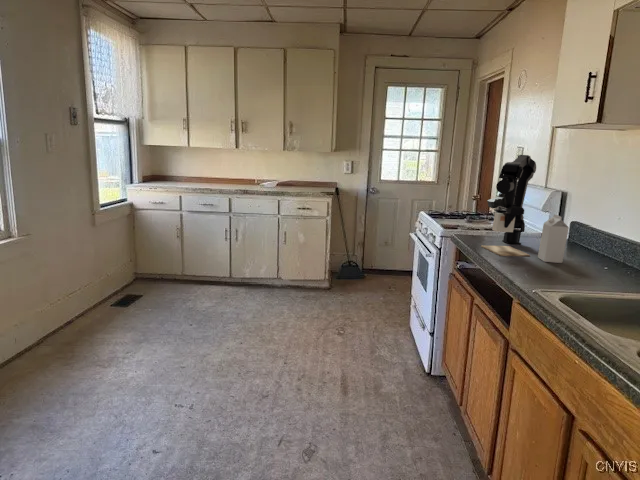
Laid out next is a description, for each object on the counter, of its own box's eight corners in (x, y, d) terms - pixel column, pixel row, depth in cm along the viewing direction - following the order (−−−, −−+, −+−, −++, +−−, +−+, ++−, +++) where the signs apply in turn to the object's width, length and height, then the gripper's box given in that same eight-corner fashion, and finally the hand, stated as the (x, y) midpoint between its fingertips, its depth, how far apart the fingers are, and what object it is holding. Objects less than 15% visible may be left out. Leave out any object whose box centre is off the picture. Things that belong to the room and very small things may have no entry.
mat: (509, 247, 201) (509, 246, 201) (530, 256, 186) (530, 255, 186) (481, 246, 199) (481, 245, 199) (499, 255, 184) (499, 254, 184)
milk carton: (554, 259, 184) (562, 214, 180) (562, 263, 177) (570, 217, 173) (537, 257, 185) (545, 213, 180) (544, 262, 178) (552, 216, 173)
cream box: (508, 230, 197) (511, 213, 195) (513, 232, 194) (515, 214, 192) (492, 230, 196) (494, 212, 194) (496, 231, 192) (499, 213, 191)
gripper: (481, 188, 199) (476, 222, 202) (503, 194, 181) (497, 230, 184) (503, 189, 200) (498, 222, 204) (527, 195, 182) (521, 231, 186)
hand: (503, 226), depth 194 cm, fingers closed on cream box, 3 cm apart
